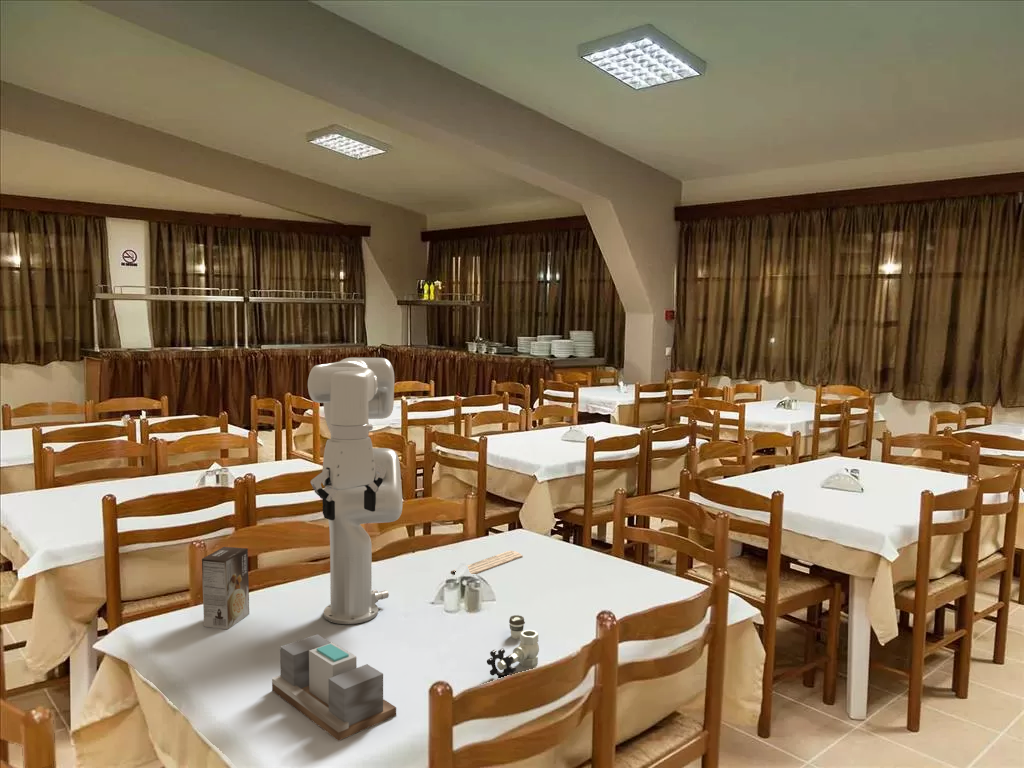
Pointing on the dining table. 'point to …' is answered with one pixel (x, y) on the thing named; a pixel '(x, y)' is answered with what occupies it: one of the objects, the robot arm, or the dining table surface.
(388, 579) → the dining table surface
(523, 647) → the valve
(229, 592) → the coffee box
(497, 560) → the striped wooden board
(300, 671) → the mounting plate
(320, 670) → the module block
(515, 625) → the coffee cup
